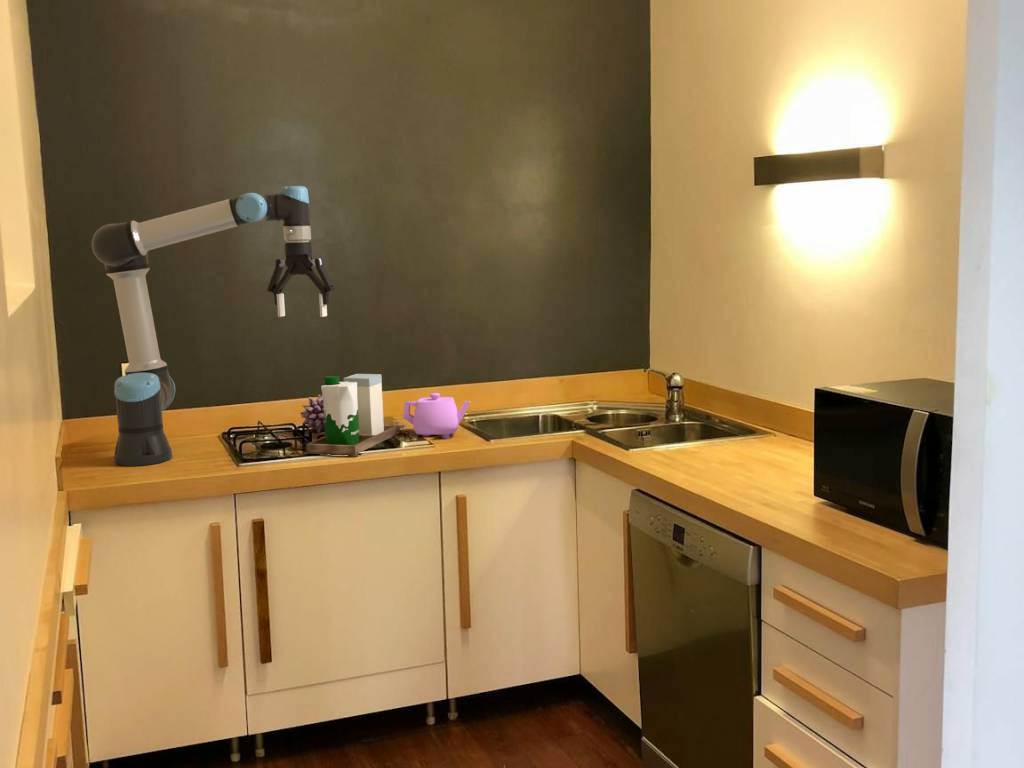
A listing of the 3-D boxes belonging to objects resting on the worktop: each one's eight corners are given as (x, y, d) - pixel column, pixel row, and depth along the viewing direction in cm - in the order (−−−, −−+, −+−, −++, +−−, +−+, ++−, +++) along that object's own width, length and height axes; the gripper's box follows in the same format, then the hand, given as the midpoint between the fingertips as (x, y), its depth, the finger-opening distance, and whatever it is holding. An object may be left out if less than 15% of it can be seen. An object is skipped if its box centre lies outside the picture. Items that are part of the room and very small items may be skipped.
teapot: (401, 441, 307) (399, 397, 305) (406, 432, 319) (404, 390, 317) (470, 439, 306) (468, 396, 304) (473, 430, 318) (471, 389, 316)
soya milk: (333, 443, 302) (329, 374, 299) (363, 444, 300) (360, 374, 297) (321, 450, 294) (317, 379, 290) (352, 450, 292) (348, 379, 289)
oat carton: (347, 439, 307) (343, 378, 305) (359, 433, 315) (356, 373, 312) (372, 440, 305) (369, 378, 302) (384, 434, 312) (381, 374, 310)
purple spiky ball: (293, 436, 318) (291, 397, 316) (314, 428, 329) (312, 390, 327) (327, 438, 314) (325, 398, 312) (347, 430, 325) (345, 392, 323)
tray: (306, 454, 292) (306, 444, 292) (354, 433, 319) (354, 423, 319) (355, 457, 287) (355, 446, 287) (400, 435, 315) (399, 425, 314)
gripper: (252, 242, 300) (257, 317, 304) (330, 241, 293) (335, 317, 296) (266, 242, 307) (271, 315, 311) (343, 240, 300) (347, 315, 303)
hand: (302, 316), depth 303 cm, fingers open, 13 cm apart
